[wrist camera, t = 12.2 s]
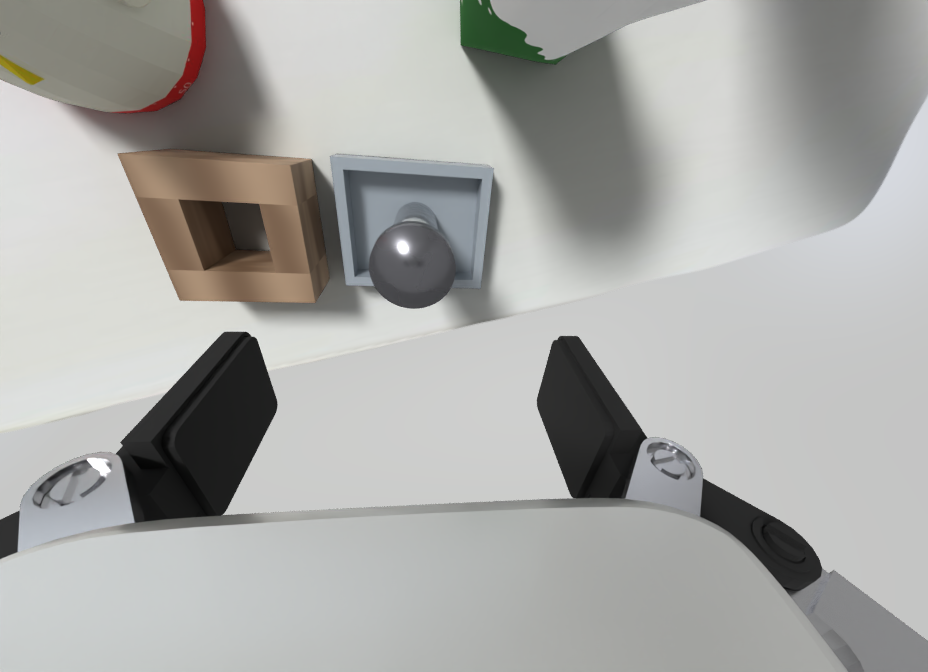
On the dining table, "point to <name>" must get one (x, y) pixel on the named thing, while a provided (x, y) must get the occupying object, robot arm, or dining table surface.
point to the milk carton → (550, 24)
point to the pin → (412, 259)
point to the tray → (404, 181)
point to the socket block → (207, 231)
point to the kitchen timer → (103, 50)
